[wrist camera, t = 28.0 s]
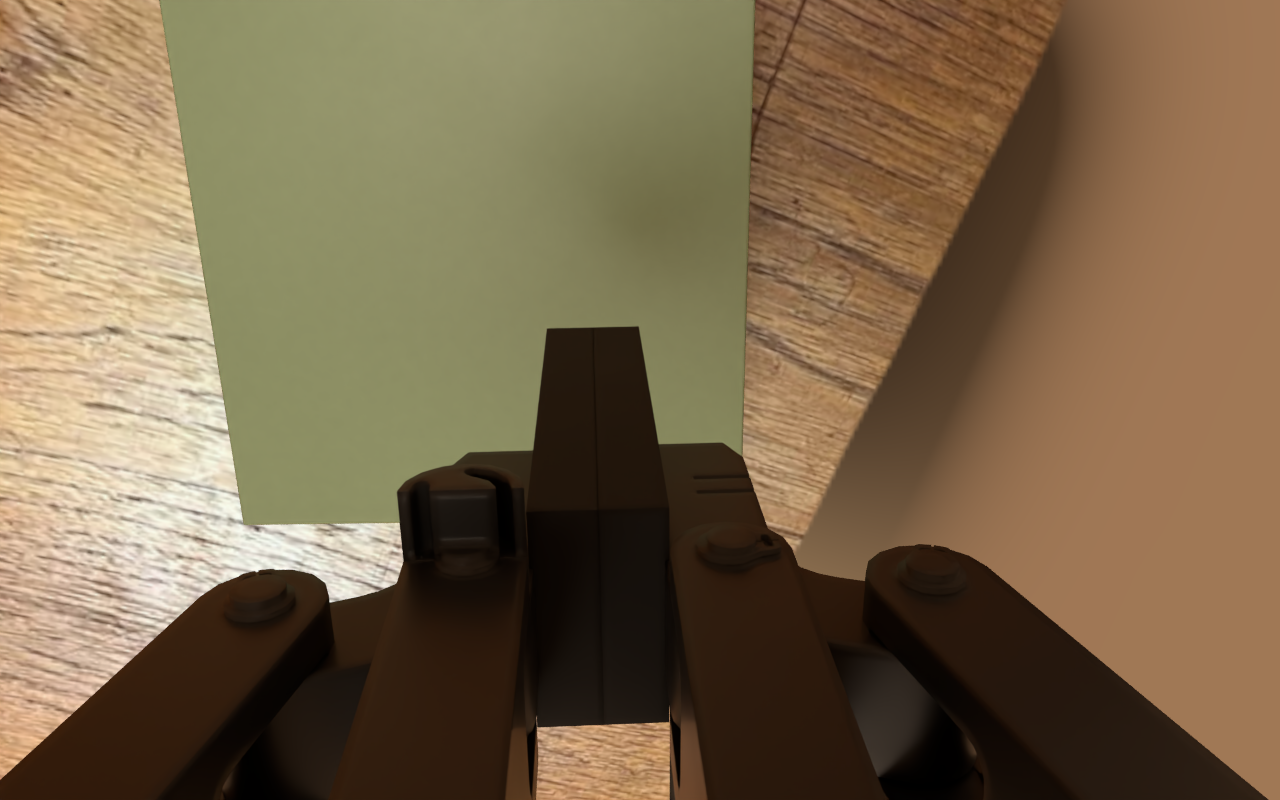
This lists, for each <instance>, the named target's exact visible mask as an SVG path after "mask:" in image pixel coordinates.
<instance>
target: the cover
mask: <svg viewBox="0 0 1280 800" xmlns="http://www.w3.org/2000/svg"><path fill="white" fill-rule="evenodd" d="M159 1H160V7H161V14H162V20H163V26H164V32H165V39H166V45H167V51H168V57H169V63H170V70H171V76H172V82H173V88H174V94H175V101H176V107H177V113H178V119H179V125H180V132H181V138H182V144H183V150H184V156H185V163H186V169H187V175H188V181H189V188H190V194H191V200H192V206H193V212H194V219H195V225H196V231H197V237H198V243H199V250H200V256H201V262H202V268H203V274H204V281H205V287H206V293H207V299H208V306H209V312H210V318H211V324H212V330H213V337H214V343H215V349H216V355H217V361H218V368H219V374H220V380H221V386H222V392H223V399H224V405H225V411H226V417H227V423H228V430H229V436H230V442H231V448H232V455H233V461H234V467H235V473H236V479H237V486H238V492H239V498H240V504H241V510H242V517H243V523H244V525H269V524H344V523H400V520H399V510H398V500H397V491H398V489H399V488H400V487H401V486H402V485H403V483H404V482H405V481H407V480H408V479H410V478H412V477H414V476H416V475H418V474H420V473H421V472H425V471H428V470H432V469H435V468H439V467H442V466H450V465H453V464H455V463H456V462H457V461H458V460H459V459H461V458H462V457H463V456H464V455H466V454H467V453H468V452H495V451H531V450H533V446H534V437H535V429H536V420H537V411H538V402H539V393H540V385H541V376H542V367H543V358H544V349H545V341H546V332H547V328H587V327H631V326H639V331H640V337H641V343H642V349H643V355H644V360H645V366H646V372H647V378H648V384H649V390H650V396H651V402H652V408H653V413H654V419H655V425H656V431H657V437H658V443H659V444H683V443H719V442H723V443H724V444H726V445H727V446H728V447H730V448H731V449H732V450H734V451H735V452H736V453H738V454H739V455H741V456H742V450H743V415H744V380H745V345H746V310H747V275H748V240H749V206H750V171H751V136H752V101H753V66H754V31H755V0H159Z"/></svg>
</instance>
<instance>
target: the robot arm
mask: <svg viewBox="0 0 1280 800" xmlns="http://www.w3.org/2000/svg"><path fill="white" fill-rule="evenodd" d="M397 500H398V510H399V520H400V530H401V540H402V550H403V559H404V562H403V565H402V568H401V572H400V575H399V578H398V581H397V584H395V585H393V586H390V587H388V588H385V589H383V590H381V591H378V592H375V593H371V594H367V595H364V596H360V597H355V598H351V599H346V600H341V601H336V602H332V603H330V602H329V595H328V591H327V588H326V584H325V583H324V582H323V581H321V580H320V579H319V578H317V577H316V576H314V575H313V574H309V573H305V572H300V571H296V570H274V569H266V570H259V572H255V571H253V572H249V573H245V574H242V575H240V576H239V577H237V578H234V579H231V580H229V581H226V582H224V583H221V584H219V585H217V586H216V587H214V588H213V589H211V590H210V591H208V592H207V593H205V594H204V595H202V596H201V597H200V598H198V599H197V600H196V601H195V602H194V603H193V604H192V605H191V606H190V607H189V608H188V609H186V610H185V611H184V612H183V613H182V614H181V615H180V616H179V617H178V618H177V619H176V620H174V621H173V622H172V623H171V624H170V625H169V626H168V627H167V628H166V629H165V630H163V631H162V632H161V633H160V634H159V635H158V636H157V637H156V638H155V639H154V640H153V641H151V642H150V643H149V644H148V645H147V646H146V647H145V648H144V649H143V650H142V651H141V652H139V653H138V654H137V655H136V656H135V657H134V658H133V659H132V660H131V661H130V662H129V663H127V664H126V665H125V666H124V667H123V668H122V669H121V670H120V671H119V672H118V673H117V674H115V675H114V676H113V677H112V678H111V679H110V680H109V681H108V682H107V683H106V684H105V685H103V686H102V687H101V688H100V689H99V690H98V691H97V692H96V693H95V694H94V695H93V696H91V697H90V698H89V699H88V700H87V701H86V702H85V703H84V704H83V705H82V706H81V707H79V708H78V709H77V710H76V711H75V712H74V713H73V714H72V715H71V716H70V717H68V718H67V719H66V720H65V721H64V722H63V723H62V724H61V725H60V726H59V727H58V728H56V729H55V730H54V731H53V732H52V733H51V734H50V735H49V736H48V737H47V738H46V739H44V740H43V741H42V742H41V743H40V744H39V745H38V746H37V747H36V748H35V749H34V750H32V751H31V752H30V753H29V754H28V755H27V756H26V757H25V758H24V759H23V760H22V761H20V762H19V763H18V764H17V765H16V766H15V767H14V768H13V769H12V770H11V771H10V772H8V773H7V774H6V775H5V776H4V777H3V778H2V779H1V780H0V800H536V789H537V772H538V742H537V727H558V726H584V725H609V724H634V723H659V722H669V707H670V800H1268V799H1267V798H1266V797H1264V796H1263V795H1262V794H1261V793H1259V792H1258V791H1257V790H1256V789H1255V788H1254V787H1252V786H1251V785H1250V784H1249V783H1248V782H1246V781H1245V780H1244V779H1243V778H1241V777H1240V776H1239V775H1238V774H1237V773H1235V772H1234V771H1233V770H1232V769H1230V768H1229V767H1228V766H1227V765H1226V764H1224V763H1223V762H1222V761H1221V760H1220V759H1219V758H1217V757H1216V756H1215V755H1214V754H1212V753H1211V752H1210V751H1209V750H1208V749H1206V748H1205V747H1204V746H1203V745H1202V744H1200V743H1199V742H1198V741H1197V740H1196V739H1194V738H1193V737H1192V736H1190V734H1188V733H1187V732H1186V731H1185V730H1184V729H1182V728H1181V727H1180V726H1179V725H1178V724H1176V723H1175V722H1174V721H1173V720H1171V719H1170V718H1169V717H1168V716H1167V715H1166V714H1164V713H1163V712H1162V711H1161V710H1159V709H1158V708H1157V707H1156V706H1154V705H1153V704H1152V703H1151V702H1150V701H1148V700H1147V699H1146V698H1145V697H1144V696H1143V695H1141V694H1140V693H1139V692H1138V691H1137V690H1135V689H1134V688H1133V687H1132V686H1131V685H1129V684H1128V683H1127V682H1126V681H1124V680H1123V679H1122V678H1121V677H1119V676H1118V675H1117V674H1116V673H1115V672H1114V671H1112V670H1111V669H1110V668H1109V667H1108V666H1106V665H1105V664H1104V663H1103V662H1102V661H1100V660H1099V659H1098V658H1097V657H1095V656H1094V655H1093V654H1092V653H1091V652H1089V651H1088V650H1087V649H1086V648H1085V647H1083V646H1082V645H1081V644H1080V643H1079V642H1077V641H1076V640H1075V639H1074V638H1073V637H1071V636H1070V635H1069V634H1068V633H1067V632H1065V631H1064V630H1063V629H1062V628H1060V627H1059V626H1058V625H1057V624H1056V623H1055V622H1053V621H1052V620H1051V619H1050V618H1048V617H1047V616H1046V615H1045V614H1044V613H1042V612H1041V611H1040V610H1039V609H1038V608H1036V607H1035V606H1034V605H1033V604H1031V603H1030V602H1029V601H1028V600H1027V599H1025V598H1024V597H1023V596H1022V595H1020V593H1018V592H1017V591H1016V590H1015V589H1014V588H1012V587H1011V586H1010V585H1009V584H1007V583H1006V582H1005V581H1004V580H1002V579H1001V578H1000V577H999V576H998V575H996V574H995V573H994V572H993V571H992V570H991V569H989V568H988V567H987V566H985V565H984V564H982V563H980V562H979V561H977V560H975V559H973V558H972V557H970V556H968V555H965V554H962V553H959V552H955V551H952V550H950V549H948V548H946V547H941V546H936V545H934V547H931V545H923V544H918V545H915V546H899V547H895V548H892V549H889V550H886V551H882V552H880V553H879V554H877V555H876V556H874V557H873V558H872V559H871V560H869V561H868V566H867V570H866V577H865V581H860V580H853V579H845V578H839V577H833V576H828V575H823V574H819V573H815V572H812V571H810V570H807V569H804V568H801V567H799V566H798V564H797V561H796V558H795V556H794V553H793V550H792V548H791V547H790V545H789V544H788V543H787V542H786V540H785V539H784V538H783V537H782V536H780V535H778V534H777V533H775V532H773V531H771V530H769V529H768V528H767V525H766V522H765V519H764V516H763V513H762V511H761V508H760V505H759V502H758V499H757V496H756V493H755V492H754V488H753V485H752V482H751V479H750V478H749V473H748V471H747V468H746V465H745V462H744V459H743V457H742V456H741V455H739V454H738V453H736V452H735V451H734V450H732V449H731V448H730V447H728V446H727V445H726V444H724V443H723V442H719V443H683V444H659V443H658V437H657V431H656V425H655V419H654V413H653V408H652V402H651V396H650V390H649V384H648V378H647V372H646V366H645V360H644V355H643V349H642V343H641V337H640V331H639V326H631V327H587V328H547V332H546V341H545V349H544V358H543V367H542V376H541V385H540V393H539V402H538V411H537V420H536V429H535V437H534V446H533V450H531V451H495V452H468V453H467V454H466V455H464V456H463V457H462V458H461V459H459V460H458V461H457V462H456V463H455V464H453V465H450V466H442V467H439V468H435V469H432V470H428V471H425V472H421V473H420V474H418V475H416V476H414V477H412V478H410V479H408V480H407V481H405V482H404V483H403V485H402V486H401V487H400V488H399V489H398V491H397ZM536 716H537V723H536Z"/></svg>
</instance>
